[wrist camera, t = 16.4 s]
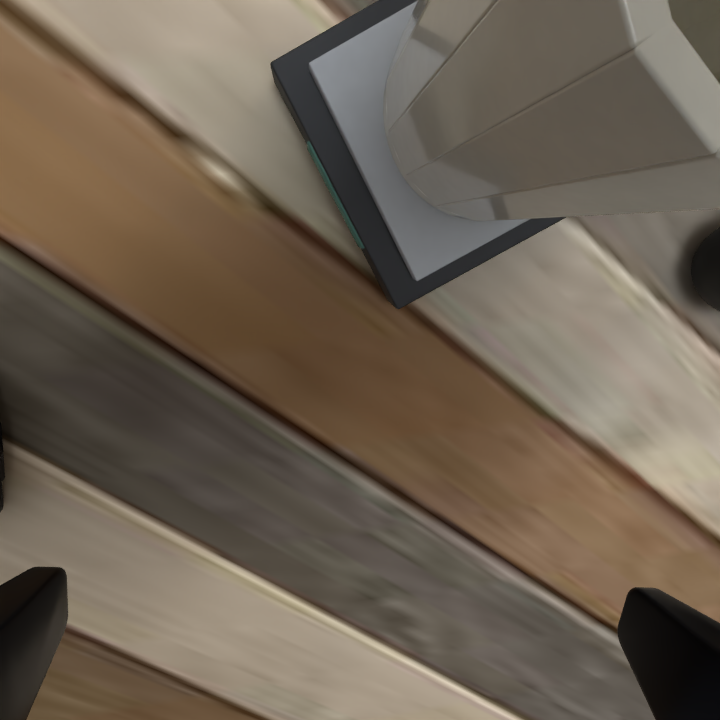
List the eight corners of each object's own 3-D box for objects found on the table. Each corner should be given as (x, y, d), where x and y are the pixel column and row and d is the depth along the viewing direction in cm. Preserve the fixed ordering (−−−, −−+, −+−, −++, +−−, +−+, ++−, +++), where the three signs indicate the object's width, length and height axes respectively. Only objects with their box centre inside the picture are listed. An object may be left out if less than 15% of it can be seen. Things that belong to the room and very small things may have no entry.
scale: (386, 303, 20) (397, 314, 17) (270, 82, 17) (264, 57, 15) (632, 168, 19) (680, 159, 17) (550, -78, 17) (592, -131, 14)
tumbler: (486, 263, 17) (851, 332, 6) (337, 115, 15) (424, -219, 4) (630, 105, 16) (1416, -200, 5) (490, -70, 15) (1176, -1199, 3)
